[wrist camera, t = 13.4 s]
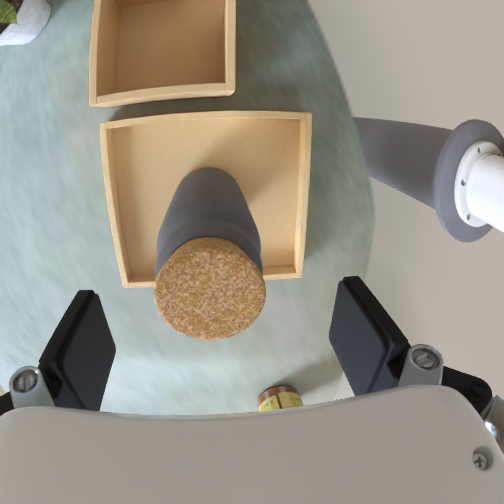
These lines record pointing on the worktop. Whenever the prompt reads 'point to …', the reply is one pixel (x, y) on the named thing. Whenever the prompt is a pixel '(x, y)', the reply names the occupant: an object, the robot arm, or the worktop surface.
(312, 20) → the worktop surface
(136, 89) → the bin
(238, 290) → the bottle
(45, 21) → the house plant
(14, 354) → the worktop surface
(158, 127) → the tray
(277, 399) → the sauce bottle
